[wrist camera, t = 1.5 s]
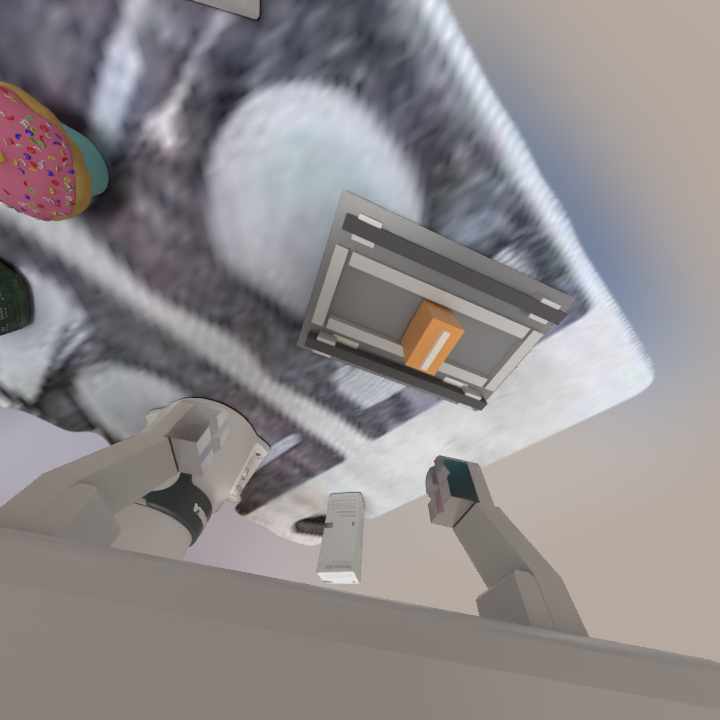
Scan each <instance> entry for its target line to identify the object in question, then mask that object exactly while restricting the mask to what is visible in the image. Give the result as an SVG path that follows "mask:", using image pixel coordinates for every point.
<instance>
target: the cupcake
mask: <svg viewBox="0 0 720 720" xmlns="http://www.w3.org/2000/svg"><path fill="white" fill-rule="evenodd" d="M108 181H109V176H108V170H107V167H106V164H105V162H104V159H103V158H102V156H101V154H100V153H99V151H98V150H97V148H96V147H95V146H94V145H93V144H92V143H91V142H90V141H89V140H88V139H87V138H86V137H85V136H83V135H82V134H80V133H79V132H77V131H75V130H73V129H72V128H70V127H68V126H66V125H64V124H63V123H61V122H60V121H59V120H58V119H57V117H56V116H55V115H54V114H53V113H52V112H51V111H50V110H49V109H48V108H46V107H45V106H44V105H42V104H41V103H39V102H38V101H37V100H36V99H34V98H33V97H32V96H30V95H29V94H28V93H26V92H25V91H24V90H22V89H20V88H18V87H16V86H14V85H11V84H8V83H5V82H2V81H0V201H1V202H3V203H4V205H5V204H6V205H5V206H7V207H8V208H14V209H15V210H16V211H17V212H19V213H24V214H27V215H29V216H32V217H34V218H37V219H36V220H38V219H41V220H44V221H50V220H53V221H60V220H64V219H69V218H72V217H74V216H76V215H78V214H80V213H82V212H83V211H84V210H85V209H86V208H87V207H88V206H89V204H90V202H91V199H92V197H93V196H96V195H98V194H101V193H102V192H104V191H105V189H106V188H107V186H108Z"/></svg>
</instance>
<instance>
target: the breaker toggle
mask: <svg viewBox="0 0 720 720" xmlns="http://www.w3.org/2000/svg"><path fill="white" fill-rule="evenodd" d="M464 332H465V331H464V329H463V328H462V326H461V325H460V323H459V322H458V320H457V319H456V317H455V316H454V314H453V313H452V312H451V310H450V309H447V308H445V307H442V306H440V305H438V304H435V303H433V302H431V301H428V300H426V299H423V301H422V303H421V304H420V306H419V308H418V310H417V312H416V314H415V315H414V317H413V319H412V321H411V323H410V325H409V326H408V328H407V330H406V332H405V334H404V336H403V337H402V339H401V343H402V349H403V355H404V361H405V365H407V366H410V367H412V368H415V369H418V370H420V371H423V372H426V373H428V374H431V375H433V376H434V375H435V374H436V372H437V371H438V369H439V368H440V366H441V365H442V364H443V362H444V361H445V359H446V358H447V356H448V355H449V353H450V352H451V350H452V349H453V348H454V346H455V345H456V343H457V342H458V340H459V339H460V337H461V336H462V334H463V333H464Z"/></svg>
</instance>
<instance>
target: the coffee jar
mask: <svg viewBox="0 0 720 720" xmlns="http://www.w3.org/2000/svg"><path fill="white" fill-rule="evenodd" d="M28 320H29V302H28V296H27V291H26V288H25V285H24V283H23V281H22V280H21V278H20V277H19V276H17V275H16V274H15V273H14V272H13V271H12V270H11V269H10V268H8V267H7V266H6V265H4V264H3V263H2V262H1V261H0V336H1V335H4V334H7V333H10V332H13V331H16V330H19V329H22V328H24V327H25V326H26V325H27V323H28Z"/></svg>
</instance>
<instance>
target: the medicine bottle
mask: <svg viewBox="0 0 720 720" xmlns="http://www.w3.org/2000/svg"><path fill="white" fill-rule="evenodd" d="M193 1H196V2H199V3H203V4H206V5H209V6H213V7H216V8H219V9H222V10H226V11H229V12H232V13H236V14H239V15H242V16H245V17H249V18H252V19H258V18H259V14H260V0H193Z"/></svg>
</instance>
